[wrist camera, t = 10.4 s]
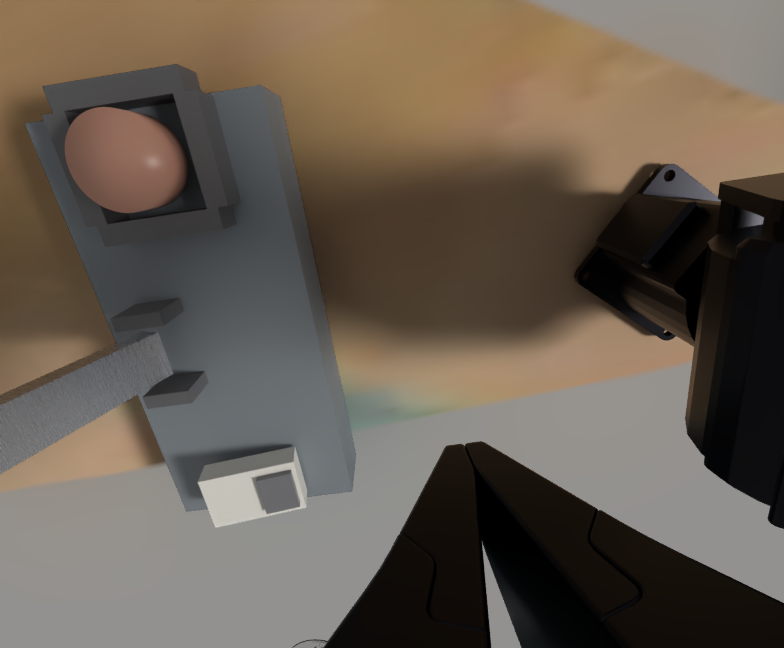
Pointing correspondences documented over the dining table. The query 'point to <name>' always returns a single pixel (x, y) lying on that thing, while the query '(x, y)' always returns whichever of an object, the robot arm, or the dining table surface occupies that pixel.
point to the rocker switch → (253, 486)
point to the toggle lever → (77, 395)
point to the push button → (125, 159)
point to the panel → (213, 279)
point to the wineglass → (311, 644)
